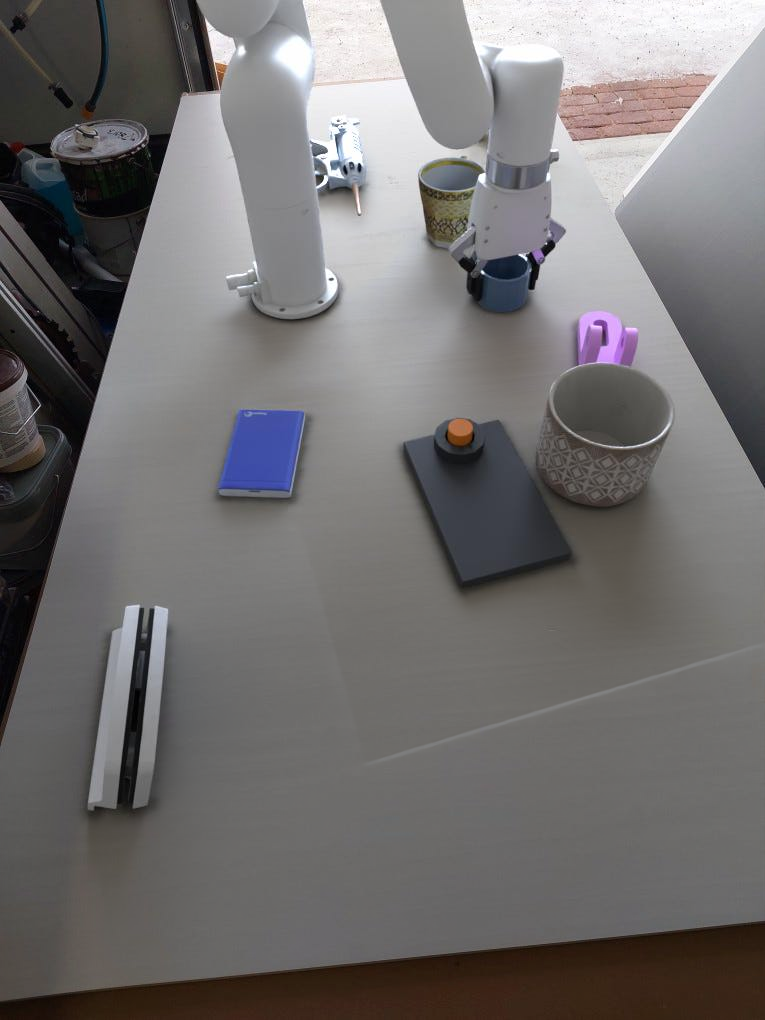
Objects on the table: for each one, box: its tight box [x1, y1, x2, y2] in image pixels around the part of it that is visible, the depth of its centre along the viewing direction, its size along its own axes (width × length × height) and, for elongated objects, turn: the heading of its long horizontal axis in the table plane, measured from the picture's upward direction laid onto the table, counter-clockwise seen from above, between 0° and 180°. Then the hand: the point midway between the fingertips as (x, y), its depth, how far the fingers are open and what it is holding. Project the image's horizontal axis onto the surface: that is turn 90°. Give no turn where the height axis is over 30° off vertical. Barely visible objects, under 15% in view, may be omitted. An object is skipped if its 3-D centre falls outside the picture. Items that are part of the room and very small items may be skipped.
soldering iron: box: [310, 115, 367, 217], centre depth 118 cm, size 6×28×16 cm
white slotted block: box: [87, 604, 169, 812], centre depth 60 cm, size 17×5×10 cm, turn 6°
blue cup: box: [476, 254, 532, 313], centre depth 97 cm, size 7×7×5 cm
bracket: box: [576, 310, 639, 368], centre depth 89 cm, size 13×6×7 cm, turn 172°
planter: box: [535, 363, 676, 507], centre depth 75 cm, size 13×13×10 cm
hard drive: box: [217, 408, 306, 499], centre depth 81 cm, size 2×8×12 cm
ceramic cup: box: [417, 155, 486, 249], centre depth 105 cm, size 13×10×10 cm
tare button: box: [448, 418, 473, 447], centre depth 78 cm, size 3×3×2 cm
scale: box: [403, 417, 573, 589], centre depth 76 cm, size 12×20×3 cm, turn 16°
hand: (501, 289), depth 98 cm, fingers closed on blue cup, 7 cm apart
